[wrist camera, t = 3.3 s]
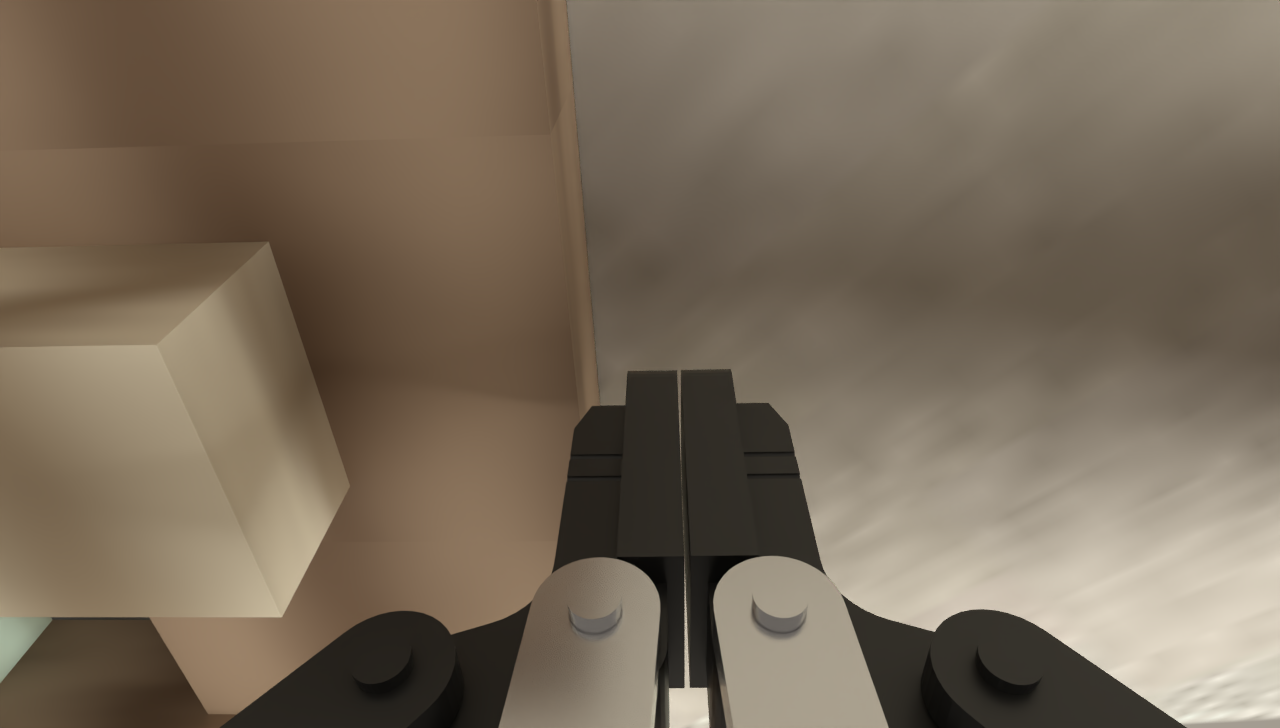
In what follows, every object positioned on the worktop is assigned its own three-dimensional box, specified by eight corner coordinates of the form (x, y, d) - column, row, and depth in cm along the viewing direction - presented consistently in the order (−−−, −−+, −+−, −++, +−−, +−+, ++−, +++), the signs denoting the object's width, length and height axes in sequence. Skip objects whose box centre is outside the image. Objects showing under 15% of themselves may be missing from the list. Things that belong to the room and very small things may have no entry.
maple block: (268, 241, 11) (156, 344, 9) (350, 485, 14) (282, 617, 12) (-45, 249, 12) (-238, 351, 9) (95, 487, 14) (-25, 617, 12)
